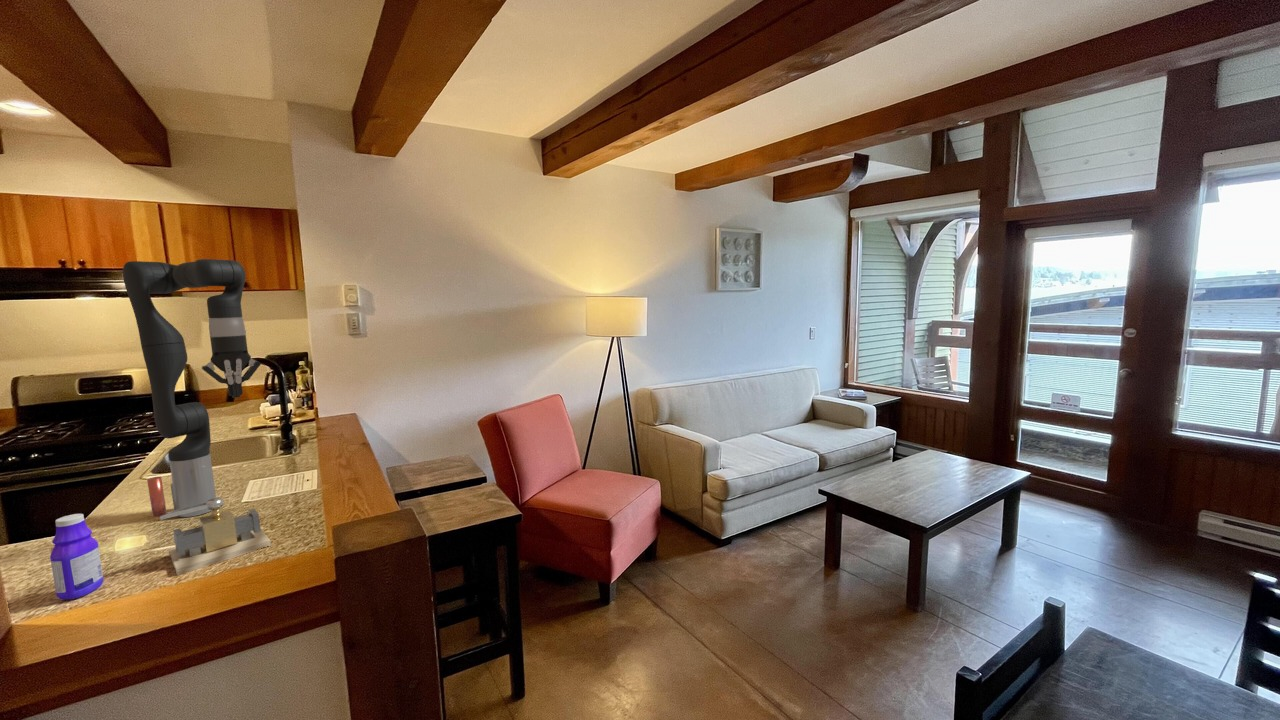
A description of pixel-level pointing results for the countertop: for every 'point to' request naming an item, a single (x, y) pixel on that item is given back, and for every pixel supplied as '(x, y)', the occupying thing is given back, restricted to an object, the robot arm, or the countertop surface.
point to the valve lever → (160, 510)
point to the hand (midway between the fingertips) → (235, 397)
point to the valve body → (216, 532)
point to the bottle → (75, 558)
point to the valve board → (217, 553)
